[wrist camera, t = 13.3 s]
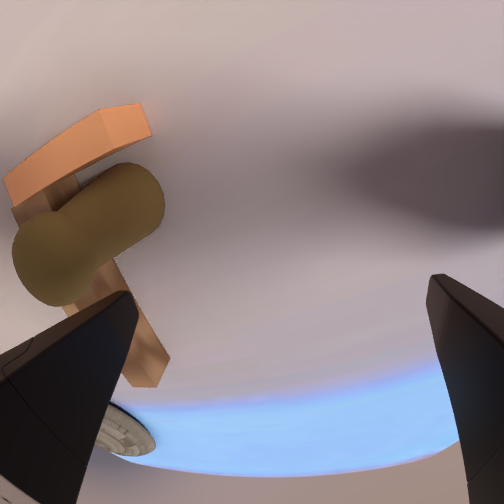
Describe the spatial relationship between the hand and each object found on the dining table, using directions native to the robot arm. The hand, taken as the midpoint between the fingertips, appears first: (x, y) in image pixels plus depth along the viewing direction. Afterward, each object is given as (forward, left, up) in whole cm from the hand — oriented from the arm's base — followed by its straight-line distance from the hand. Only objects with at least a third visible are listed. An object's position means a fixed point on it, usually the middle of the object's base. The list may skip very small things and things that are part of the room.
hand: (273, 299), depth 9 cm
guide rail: (+10, +14, -13) cm, 21 cm away
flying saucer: (+6, +44, -14) cm, 46 cm away
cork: (+10, +7, -13) cm, 18 cm away
